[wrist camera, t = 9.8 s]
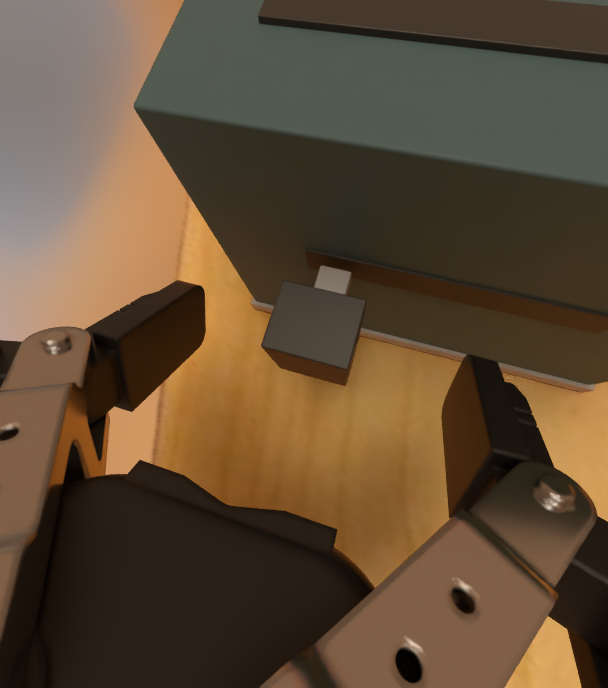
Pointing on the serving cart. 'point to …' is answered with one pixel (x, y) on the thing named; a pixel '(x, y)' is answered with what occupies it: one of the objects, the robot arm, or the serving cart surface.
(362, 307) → the slider
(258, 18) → the toaster
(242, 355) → the serving cart surface
